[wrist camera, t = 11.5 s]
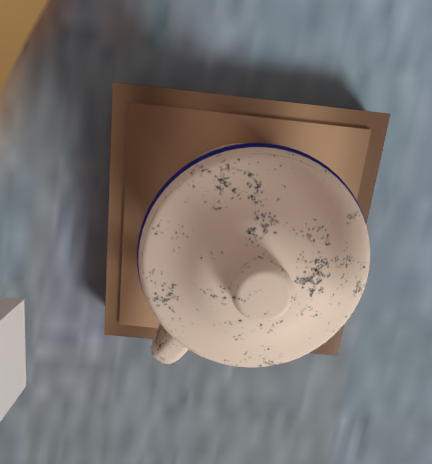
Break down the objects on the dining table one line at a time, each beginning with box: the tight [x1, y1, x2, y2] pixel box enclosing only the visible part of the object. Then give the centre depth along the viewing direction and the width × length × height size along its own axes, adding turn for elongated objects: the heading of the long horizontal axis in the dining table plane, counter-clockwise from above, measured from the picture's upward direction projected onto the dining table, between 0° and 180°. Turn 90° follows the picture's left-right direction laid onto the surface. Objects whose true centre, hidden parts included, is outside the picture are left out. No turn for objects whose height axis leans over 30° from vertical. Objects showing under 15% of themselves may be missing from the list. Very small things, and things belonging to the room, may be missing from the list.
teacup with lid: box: [137, 143, 370, 367], centre depth 17 cm, size 12×9×12 cm
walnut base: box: [104, 82, 390, 356], centre depth 25 cm, size 16×16×3 cm
